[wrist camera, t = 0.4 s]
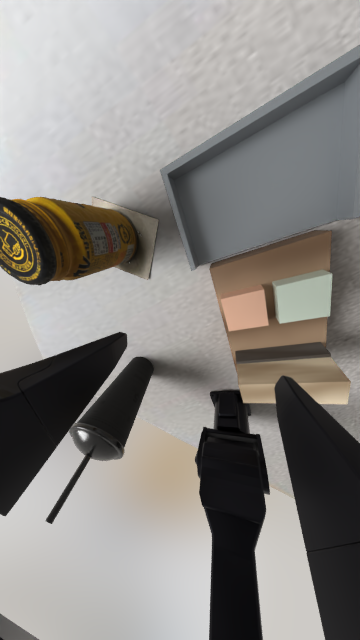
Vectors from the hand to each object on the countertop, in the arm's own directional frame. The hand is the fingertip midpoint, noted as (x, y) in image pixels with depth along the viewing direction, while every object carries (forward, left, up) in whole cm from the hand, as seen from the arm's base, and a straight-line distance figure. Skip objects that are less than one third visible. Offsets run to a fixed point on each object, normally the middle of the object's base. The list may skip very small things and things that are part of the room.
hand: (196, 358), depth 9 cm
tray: (+8, -6, -13) cm, 16 cm away
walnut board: (-5, -6, -13) cm, 15 cm away
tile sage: (-2, -8, -10) cm, 13 cm away
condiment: (+9, +9, -14) cm, 19 cm away
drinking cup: (-12, +17, -13) cm, 25 cm away
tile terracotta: (-2, -3, -10) cm, 11 cm away
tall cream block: (-10, -6, -10) cm, 15 cm away
